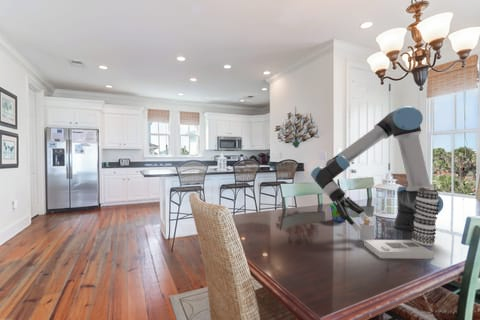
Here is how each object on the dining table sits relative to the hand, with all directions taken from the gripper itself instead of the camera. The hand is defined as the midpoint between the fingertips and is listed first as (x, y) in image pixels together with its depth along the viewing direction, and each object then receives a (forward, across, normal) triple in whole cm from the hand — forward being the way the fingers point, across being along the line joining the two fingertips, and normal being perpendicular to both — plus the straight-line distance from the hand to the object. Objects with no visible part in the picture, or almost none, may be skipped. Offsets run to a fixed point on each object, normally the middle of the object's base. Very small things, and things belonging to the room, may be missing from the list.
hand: (364, 227), depth 114 cm
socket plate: (+14, +4, +6) cm, 16 cm away
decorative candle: (+18, -16, +9) cm, 26 cm away
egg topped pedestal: (+5, 0, -4) cm, 6 cm away
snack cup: (-13, -26, -23) cm, 37 cm away
